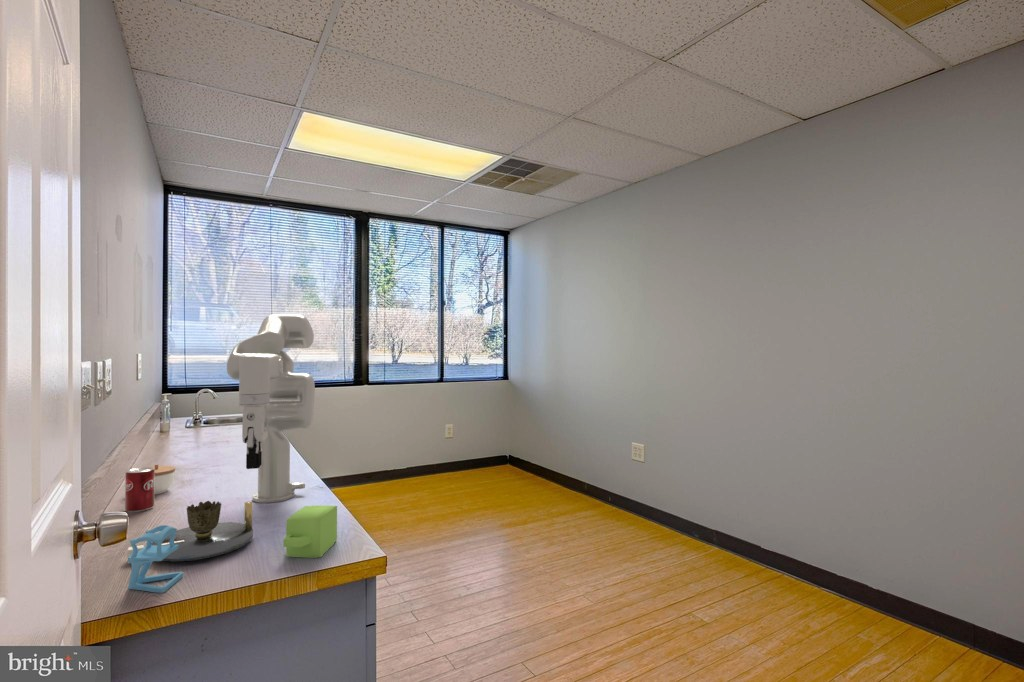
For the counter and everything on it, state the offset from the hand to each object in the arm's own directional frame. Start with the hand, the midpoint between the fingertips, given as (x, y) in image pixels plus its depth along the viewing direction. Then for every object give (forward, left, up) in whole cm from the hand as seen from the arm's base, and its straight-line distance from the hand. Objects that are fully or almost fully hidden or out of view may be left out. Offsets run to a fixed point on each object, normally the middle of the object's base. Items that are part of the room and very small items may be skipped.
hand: (253, 466), depth 139 cm
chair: (+22, +24, -17) cm, 37 cm away
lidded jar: (+22, -57, -17) cm, 64 cm away
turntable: (+12, +7, -16) cm, 21 cm away
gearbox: (-10, +22, -17) cm, 30 cm away
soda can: (+26, -38, -17) cm, 49 cm away
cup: (+12, +6, -15) cm, 20 cm away
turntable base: (+16, +7, -17) cm, 24 cm away
